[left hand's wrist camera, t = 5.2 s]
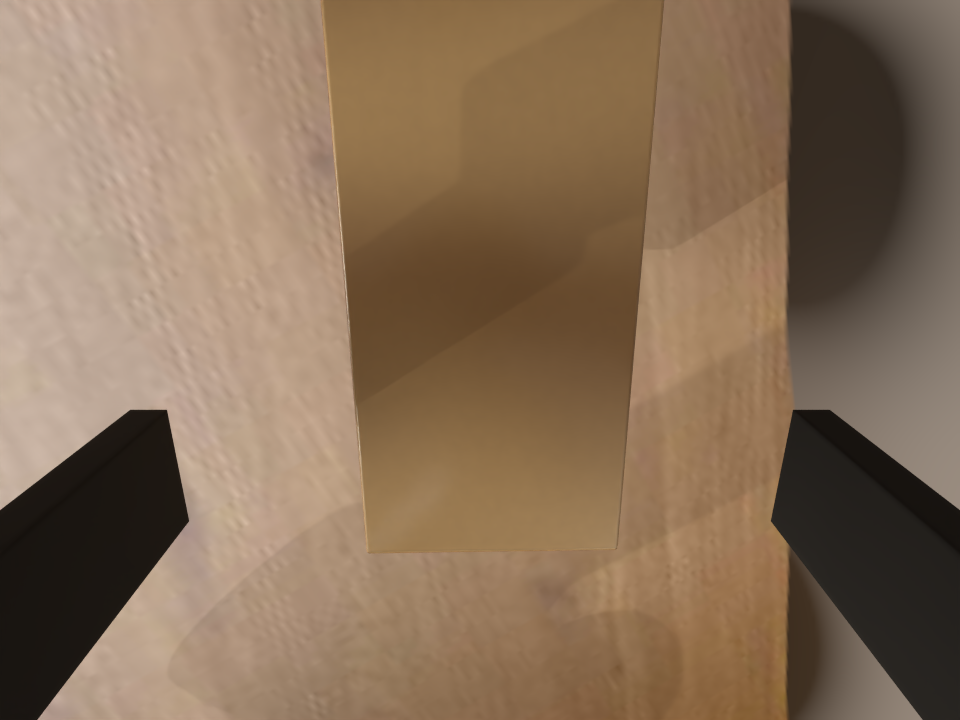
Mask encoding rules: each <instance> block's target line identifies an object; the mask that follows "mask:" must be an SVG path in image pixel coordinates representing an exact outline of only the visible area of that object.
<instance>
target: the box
mask: <svg viewBox="0 0 960 720" xmlns="http://www.w3.org/2000/svg"><path fill="white" fill-rule="evenodd" d="M663 8H664V0H321V11H322V23H323V35H324V47H325V59H326V70H327V82H328V94H329V106H330V118H331V130H332V142H333V154H334V166H335V178H336V190H337V202H338V214H339V226H340V238H341V250H342V262H343V274H344V286H345V298H346V310H347V322H348V333H349V345H350V357H351V369H352V381H353V393H354V405H355V417H356V429H357V441H358V453H359V465H360V477H361V489H362V501H363V513H364V525H365V537H366V549H367V552H368V553H420V552H486V551H553V550H615V549H617V546H618V535H619V524H620V512H621V500H622V489H623V477H624V465H625V453H626V442H627V430H628V418H629V406H630V395H631V383H632V371H633V360H634V348H635V336H636V324H637V313H638V301H639V289H640V277H641V266H642V254H643V242H644V231H645V219H646V207H647V195H648V184H649V172H650V160H651V148H652V137H653V125H654V113H655V101H656V90H657V78H658V66H659V55H660V43H661V31H662V19H663Z"/></svg>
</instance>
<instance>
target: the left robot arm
mask: <svg viewBox="0 0 960 720" xmlns="http://www.w3.org/2000/svg"><path fill="white" fill-rule="evenodd" d="M188 522H189V518H188V513H187V508H186V503H185V498H184V493H183V488H182V483H181V478H180V473H179V468H178V463H177V458H176V453H175V448H174V443H173V438H172V433H171V428H170V423H169V418H168V413H167V410H130V411H128V412H127V413H126V414H124V415H123V416H122V417H120V418H119V419H118V420H117V421H115V422H114V423H113V424H111V425H110V426H109V427H107V428H106V429H105V430H104V431H102V432H101V433H100V434H98V435H97V436H96V437H95V438H93V439H92V440H91V441H89V442H88V443H87V444H85V445H84V446H83V447H82V448H80V449H79V450H78V451H76V452H75V453H74V454H72V455H71V456H70V457H69V458H67V459H66V460H65V461H63V462H62V463H61V464H59V465H58V466H57V467H56V468H54V469H53V470H52V471H50V472H49V473H48V474H47V475H45V476H44V477H43V478H41V479H40V480H39V481H37V482H36V483H35V484H34V485H32V486H31V487H30V488H28V489H27V490H26V491H24V492H23V493H22V494H21V495H19V496H18V497H17V498H15V499H14V500H13V501H11V502H10V503H9V504H8V505H6V506H5V507H4V508H2V509H1V510H0V720H37V719H38V718H39V717H40V715H41V714H42V713H43V712H44V710H45V709H46V708H47V706H48V705H49V704H50V702H51V701H52V700H53V698H54V697H55V696H56V695H57V693H58V692H59V691H60V689H61V688H62V687H63V685H64V684H65V683H66V681H67V680H68V679H69V678H70V676H71V675H72V674H73V672H74V671H75V670H76V668H77V667H78V666H79V664H80V663H81V662H82V661H83V659H84V658H85V657H86V655H87V654H88V653H89V651H90V650H91V649H92V647H93V646H94V645H95V644H96V642H97V641H98V640H99V638H100V637H101V636H102V634H103V633H104V632H105V630H106V629H107V628H108V626H109V625H110V624H111V623H112V621H113V620H114V619H115V617H116V616H117V615H118V613H119V612H120V611H121V609H122V608H123V607H124V606H125V604H126V603H127V602H128V600H129V599H130V598H131V596H132V595H133V594H134V592H135V591H136V590H137V589H138V587H139V586H140V585H141V583H142V582H143V581H144V579H145V578H146V577H147V575H148V574H149V573H150V572H151V570H152V569H153V568H154V566H155V565H156V564H157V562H158V561H159V560H160V558H161V557H162V556H163V555H164V553H165V552H166V551H167V549H168V548H169V547H170V545H171V544H172V543H173V541H174V540H175V539H176V538H177V536H178V535H179V534H180V532H181V531H182V530H183V528H184V527H185V526H186V524H187V523H188ZM771 522H772V523H773V524H774V526H775V527H776V528H777V530H778V531H779V532H780V534H781V535H782V536H783V538H784V539H785V540H786V541H787V543H788V544H789V545H790V547H791V548H792V549H793V551H794V552H795V553H796V555H797V556H798V557H799V558H800V560H801V561H802V562H803V564H804V565H805V566H806V568H807V569H808V570H809V571H810V573H811V574H812V575H813V577H814V578H815V579H816V581H817V582H818V583H819V584H820V586H821V587H822V588H823V590H824V591H825V592H826V594H827V595H828V596H829V598H830V599H831V600H832V602H833V603H834V604H835V606H836V607H837V608H838V609H839V611H840V612H841V613H842V615H843V616H844V617H845V619H846V620H847V621H848V623H849V624H850V625H851V626H852V628H853V629H854V630H855V632H856V633H857V634H858V636H859V637H860V638H861V640H862V641H863V642H864V643H865V645H866V646H867V647H868V649H869V650H870V651H871V653H872V654H873V655H874V657H875V658H876V659H877V661H878V662H879V663H880V664H881V666H882V667H883V668H884V669H885V671H886V672H887V674H888V675H889V676H890V678H891V679H892V680H893V681H894V683H895V684H896V685H897V687H898V688H899V689H900V691H901V692H902V693H903V695H904V696H905V697H906V698H907V700H908V701H909V702H910V704H911V705H912V706H913V708H914V709H915V710H916V712H917V713H918V714H919V715H920V717H921V718H922V719H923V720H960V510H959V509H958V508H956V507H955V506H954V505H952V504H951V503H950V502H949V501H947V500H946V499H945V498H943V497H942V496H941V495H939V494H938V493H937V492H935V491H934V490H933V489H932V488H930V487H929V486H928V485H926V484H925V483H924V482H923V481H921V480H920V479H919V478H917V477H916V476H915V475H913V474H912V473H911V472H910V471H908V470H907V469H906V468H904V467H903V466H902V465H901V464H899V463H898V462H897V461H895V460H894V459H893V458H891V457H890V456H889V455H888V454H886V453H885V452H884V451H882V450H881V449H880V448H878V447H877V446H876V445H875V444H873V443H872V442H871V441H869V440H868V439H867V438H865V437H864V436H863V435H862V434H860V433H859V432H858V431H856V430H855V429H854V428H852V427H851V426H850V425H849V424H847V423H846V422H845V421H843V420H842V419H841V418H840V417H838V416H837V415H836V414H834V413H833V412H832V411H830V410H793V413H792V418H791V423H790V428H789V433H788V438H787V443H786V448H785V453H784V458H783V463H782V468H781V473H780V478H779V483H778V488H777V493H776V498H775V503H774V508H773V513H772V518H771Z"/></svg>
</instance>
